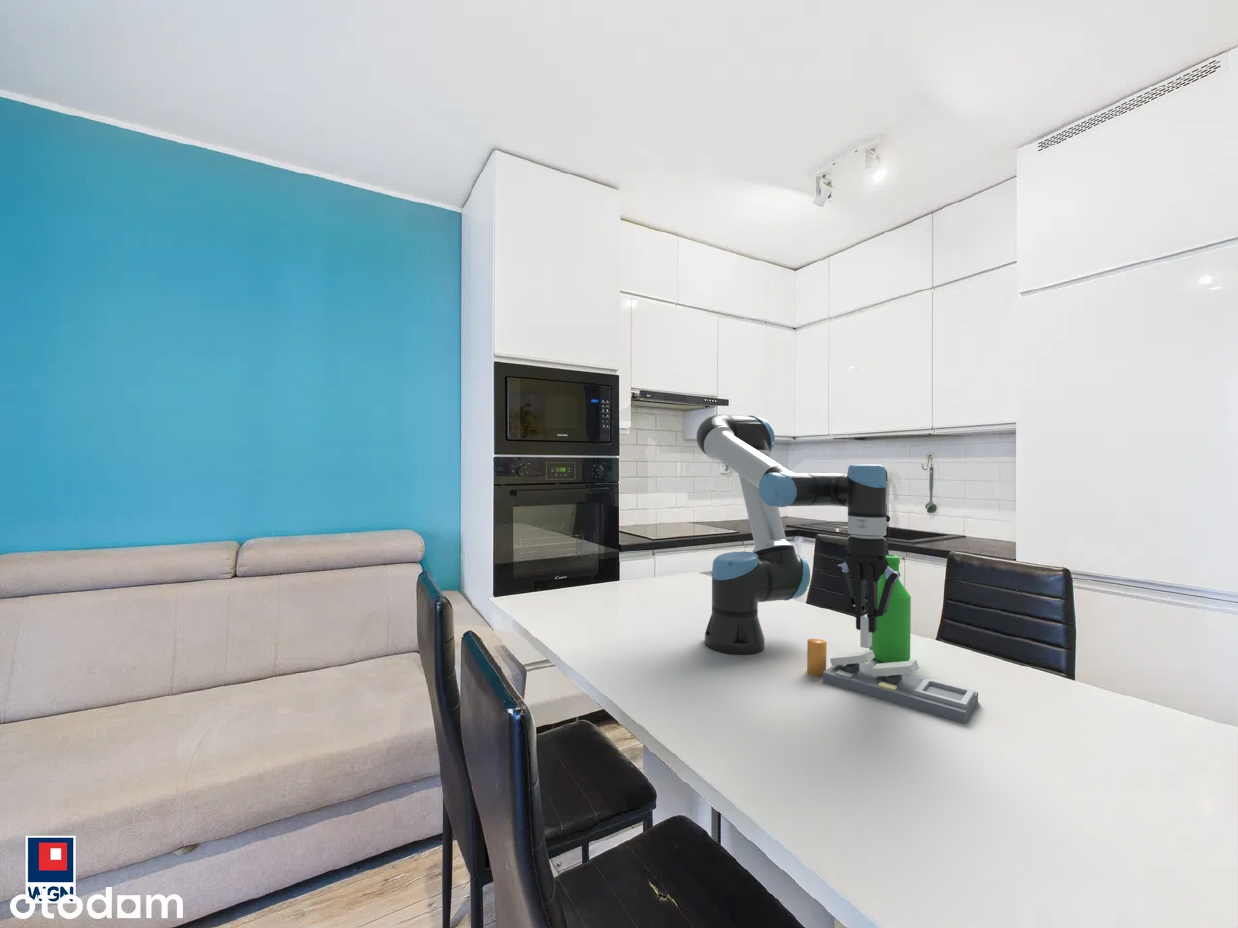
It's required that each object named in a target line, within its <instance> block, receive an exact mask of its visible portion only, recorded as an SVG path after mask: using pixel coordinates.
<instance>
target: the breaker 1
mask: <svg viewBox="0 0 1238 928" xmlns="http://www.w3.org/2000/svg"><path fill="white" fill-rule="evenodd" d="M874 657H875V655H874V652H873V650H869V649H867V650H861V651H859V650H858V651H850V652H849V651H848V652H840V653H835V655H833V656H831V657H830V658H829V661H830V665H831V666H834V665H845V664H855V663H866V664H867V663H869V662H871V661H872V660H873V659H875V658H874Z"/></svg>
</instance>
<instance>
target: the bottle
mask: <svg viewBox="0 0 1238 928" xmlns="http://www.w3.org/2000/svg"><path fill="white" fill-rule="evenodd" d="M886 560H887V562H888V564H889V567H890V568H891V569H893V570H894V571H895V572H896V571H898V572H899V573H900V564H901V559H900V556H898V555H895V554H886ZM885 575H886V572H884V573H883V574H882V575H881V577H880V578H879V579H878V607H879V603H880V599H881V596H882V592H883V588H884V585H885V582H886V580H887V578H886V577H885ZM911 601H912V597H911V594H909V592H908V591H907V589H906V588H905V586H904V584H902V582H901V580H900V577H899V578H898V579H897V580H896V582H895V584H894V588H893V591H892V595H891V599H890V602H889V606H888V609H887V613H886V614H885V615H883V616H878V617H877V630H876V632H874V633H872V646H871V647H869V648H868V650H873V652H874V655H875V657H874V658H873V659H875V660H876V661H879V662H881V663H891V662H902V661H911V660H910V659H911V632H912V631H911V626H912V625H911V624H912V623H911V619H912V617H911V615H912V613H911V612H912V610H911V607H912V606H911V605H912V603H911Z"/></svg>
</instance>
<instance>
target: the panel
mask: <svg viewBox="0 0 1238 928" xmlns="http://www.w3.org/2000/svg"><path fill="white" fill-rule="evenodd" d="M874 666H875V665H873V664H869V663H867V662H866V663H855V664H845V665H834V666H832V665H831V666H830V667H828V668H826V670H825V671H824V672H823V676H822V682H823V683H826V684H830V685H833V686H836V687H841V688H843V689H847V690H851V691H854V692H857V693H860V694H864V695H867V696H870V697H874V698H877V699H881V700H885V701H887V702H891V703H893V704H894V703H895V704H898V705H901V706H905V707H908V708H911V709H913V710H919V711H922V712H925V713H927V714H931V715H935V716H938V717H940V718H941V717H942V718H944V719H949V720H952V721H956V722H959V723H962V724H966V723H967V721H968V719H969V718H970V717H971V715H972V713H973V711H974V710H975V709H976V707H977V706H978V703H979V691H976V690H974V689H970V688H967V687H962V686H958V685H955V684H950V683H946V682H942V681H939V680H935V679H932V678H927V677H926V678H923V677H920V676H916V675H914V674H903V675H889V676H876V677H873V675H872V673H871V670H870V669H871V668H873V667H874Z"/></svg>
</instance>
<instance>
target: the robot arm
mask: <svg viewBox="0 0 1238 928" xmlns="http://www.w3.org/2000/svg"><path fill="white" fill-rule="evenodd" d="M775 438H776V436H775V431H774V428H773V426H772V425H771V423H770V422H769V421H768V420H767V419H766V418H763V417H761V416H755V415H730V414H716V415H711V416H709V417H707V418H705V420H703V421H702V422H701V424H700V425H699V426H698V428H697V432H696V442H697V446H698V448H699V449H700V450H701V452H703V454H705V455H706V456H708V457H709V458H711V459H712V460H713V459H714V460H719V461H721V462H722V463H723V464H724V465H726V466H728V467H729V469H732V470H733V471H734V472H736V473H737V474H738V477H739V482H740V487H741V490H742V494H743V499H744V504H745V507H746V513H747V516H748V517H747V518H748V521H749V525H750V529H751V535H752V539H753V543H754V548H753V550H752V551H745V550H744V551H730V552H726V553H721V554H719V555H717V556H716V557H715V558H714V560H713V561H712V566H711V567H712V569H711V615H710V617H709V620H708V623H707V626H706V629H705V632H704V644H705V645H706V646H707V647H708V648H709V649H712V650H714V651H718V652H721V653H726V654H734V655H748V654H749V655H751V654H755V653H760V652H761V651H764V649H765V636H764V632H763V629H762V626H761V623H760V620H759V614H758V613H759V610H758V607H759V605H758V603H763V602H774V601H790V600H792V599H799V598H800V597H801V596H804V594H806V591H807V590H808V587H809V585H810V581H811V570H810V569H811V568H810V565H809V563H808V561H807V560H806V559H805V557H803V556H802V555H800V554H798V553H796V550H795V549H796V548H795V546H794V544H792V543H790V542H789V541H787V538H786V533H785V530H784V525H783V521H782V517H781V514H780V508H786V507H801V506H802V507H808V506H809V507H819V506H820V507H823V506H826V507H829V506H831V507H832V506H833V507H846V508H847V533H848V534H849V536H848V537H847V556H846V558H845V561H844V562H842V563H839V564H838V565H835V566H834V570H835V571H836V573H837V575H838V576H839V581H840V584H841V585H840V586H841V588H842V594H843V598H844V601H845V602H844V603H845V606H846V607H845V608H846V609H847V611H850V612H853V614H855V628H856V630H857V631H859V632H860V640H859V641H860V648H863V649H867V650H869V647H871V646H872V633H874V632H876V630H877V617H878V616H883V615H885V614H886V613H887V609H888V606H889V602H890V599H891V595H892V591H893V588H894V584H895V582H896V580H897V579H898V578H899V579H900V577H901V573H900V571H899V572H898V571H896V572H895V571H894V570H893V569H891V568H890V567H889V564H888V562H887V560H886V555H887V539H886V538H885V537H884V536H887V490H888V483H887V482H888V481H887V471H886V470H887V469H886V468H885V466H884V465H882V464H850V465H848V467H847V472H846V473H839V472H837V473H836V472H793V471H791V470H789V469H788V468H786V467H784V466H783V465H782V464H779V463H778V462H777V461H775V460H774V459H772V458H770V457H771V452H772V450H773V449H774V447H775V443H774V441H775V440H776V439H775ZM849 571H851V573H852V575H853V577H854V584H855V587H854V588H855V589H854V590H855V594H854V591H853V585H852V581H851V577H850V574H849ZM884 572H886V575H885V577H886V578H887V580H886V582H885V585H884V588H883V592H882V596H881V599H880V603H879V607H878V581H879V580H880V579H881V575H882V574H883V573H884ZM866 585H867V609H866ZM866 612H867V614H866Z"/></svg>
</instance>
